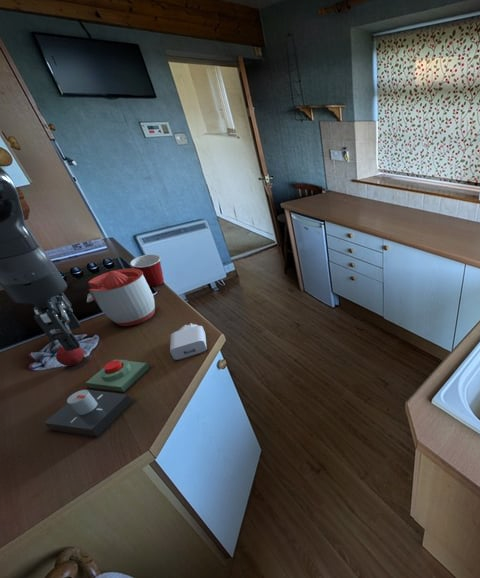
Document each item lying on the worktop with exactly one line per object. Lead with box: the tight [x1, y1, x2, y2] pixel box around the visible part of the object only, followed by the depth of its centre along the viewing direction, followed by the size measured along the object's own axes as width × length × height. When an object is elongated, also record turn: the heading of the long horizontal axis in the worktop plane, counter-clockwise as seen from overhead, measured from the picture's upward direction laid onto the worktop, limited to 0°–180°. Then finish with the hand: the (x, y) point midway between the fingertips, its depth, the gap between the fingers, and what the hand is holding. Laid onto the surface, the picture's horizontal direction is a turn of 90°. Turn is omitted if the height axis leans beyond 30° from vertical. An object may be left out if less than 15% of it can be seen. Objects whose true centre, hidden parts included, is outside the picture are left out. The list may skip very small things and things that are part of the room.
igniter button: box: [103, 359, 123, 374], centre depth 84 cm, size 4×4×2 cm
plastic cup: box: [129, 253, 165, 287], centre depth 128 cm, size 11×11×12 cm
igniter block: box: [85, 358, 150, 393], centre depth 85 cm, size 11×9×4 cm
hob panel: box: [43, 389, 133, 438], centre depth 75 cm, size 13×10×3 cm
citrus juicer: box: [86, 267, 156, 327], centre depth 105 cm, size 16×17×20 cm
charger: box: [169, 322, 208, 361], centre depth 98 cm, size 5×9×15 cm
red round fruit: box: [55, 344, 85, 366], centre depth 88 cm, size 6×6×8 cm
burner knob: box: [66, 389, 98, 415], centre depth 73 cm, size 4×4×5 cm
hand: (74, 338), depth 63 cm, fingers open, 8 cm apart
